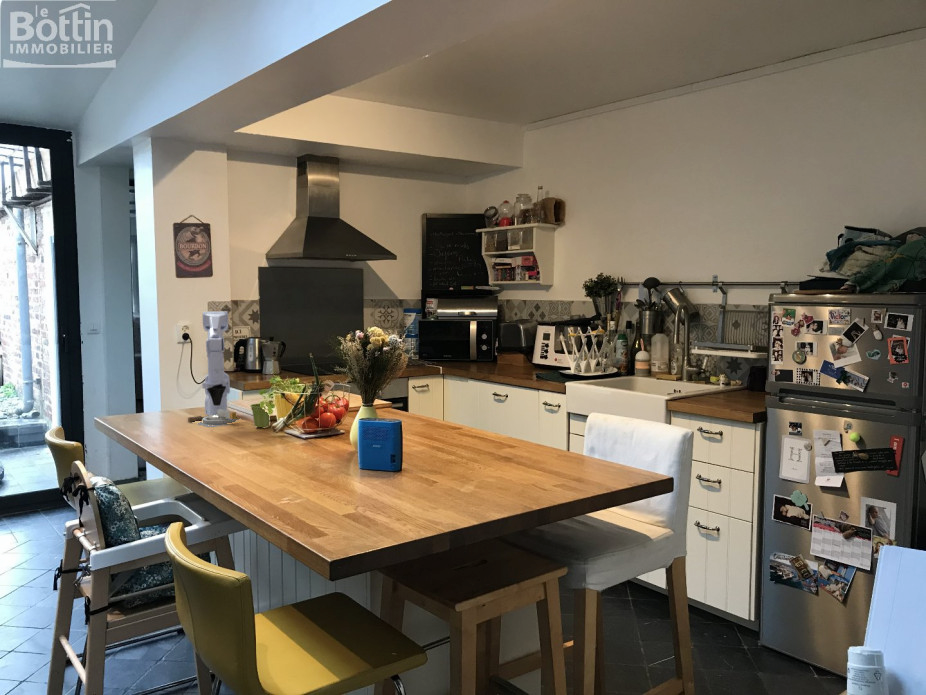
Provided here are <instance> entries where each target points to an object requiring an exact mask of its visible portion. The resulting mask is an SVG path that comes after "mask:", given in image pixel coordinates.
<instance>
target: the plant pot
mask: <svg viewBox="0 0 926 695" xmlns="http://www.w3.org/2000/svg"><path fill="white" fill-rule="evenodd" d="M249 406H250V408H251V409H250V410H251V411H252V416H253V417H252V418H253V423H254V427H255V426H257V427H266V426H269V415H268V413H267V412H265V411H264V410H263V409H262V408H261V407H260V403H254V404H253V403H252V404H250V405H249Z"/></svg>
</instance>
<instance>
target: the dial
mask: <svg viewBox="0 0 926 695" xmlns="http://www.w3.org/2000/svg"><path fill="white" fill-rule="evenodd" d="M208 416H209V420H226V419H235V418H237V412H236V411H232V410H228V409H227V410H223V409H218V410H217V414H213V415H208Z"/></svg>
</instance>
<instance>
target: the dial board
mask: <svg viewBox="0 0 926 695" xmlns="http://www.w3.org/2000/svg"><path fill="white" fill-rule="evenodd" d="M204 417H205V416H204ZM236 418H237V417H236ZM236 418H235V419H226V420H209V417H205V418H203V419H202V420H203V423H202V422H200V423H198V426H201V425H202V426H203V427H206V428H210V427H211V428H216V427H223V425H224V426H229V424H227V423H232V422H235V421H236V420H239V419H236ZM208 425H209V426H208ZM212 425H213V426H212Z"/></svg>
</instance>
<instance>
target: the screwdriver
mask: <svg viewBox="0 0 926 695" xmlns="http://www.w3.org/2000/svg"><path fill="white" fill-rule="evenodd" d="M205 417H209V415H205V416H202V415H197V416H196V415H195V416H189V417H188V418H187V423H189V422H195V421H202V420H203V418H205Z"/></svg>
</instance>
